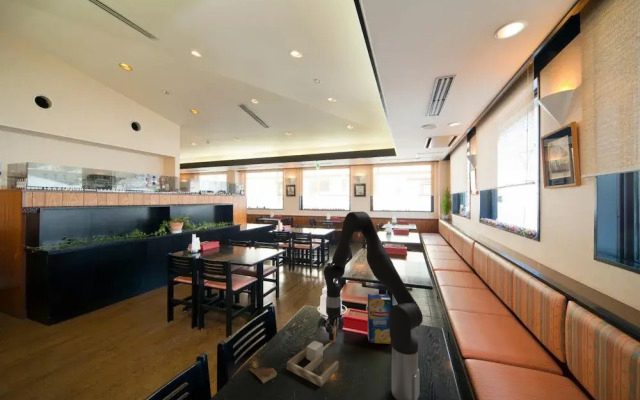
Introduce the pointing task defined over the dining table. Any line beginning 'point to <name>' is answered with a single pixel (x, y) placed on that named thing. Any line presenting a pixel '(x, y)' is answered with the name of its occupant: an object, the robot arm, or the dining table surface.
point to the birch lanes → (311, 368)
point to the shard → (264, 373)
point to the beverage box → (378, 318)
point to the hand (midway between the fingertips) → (333, 338)
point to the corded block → (318, 347)
